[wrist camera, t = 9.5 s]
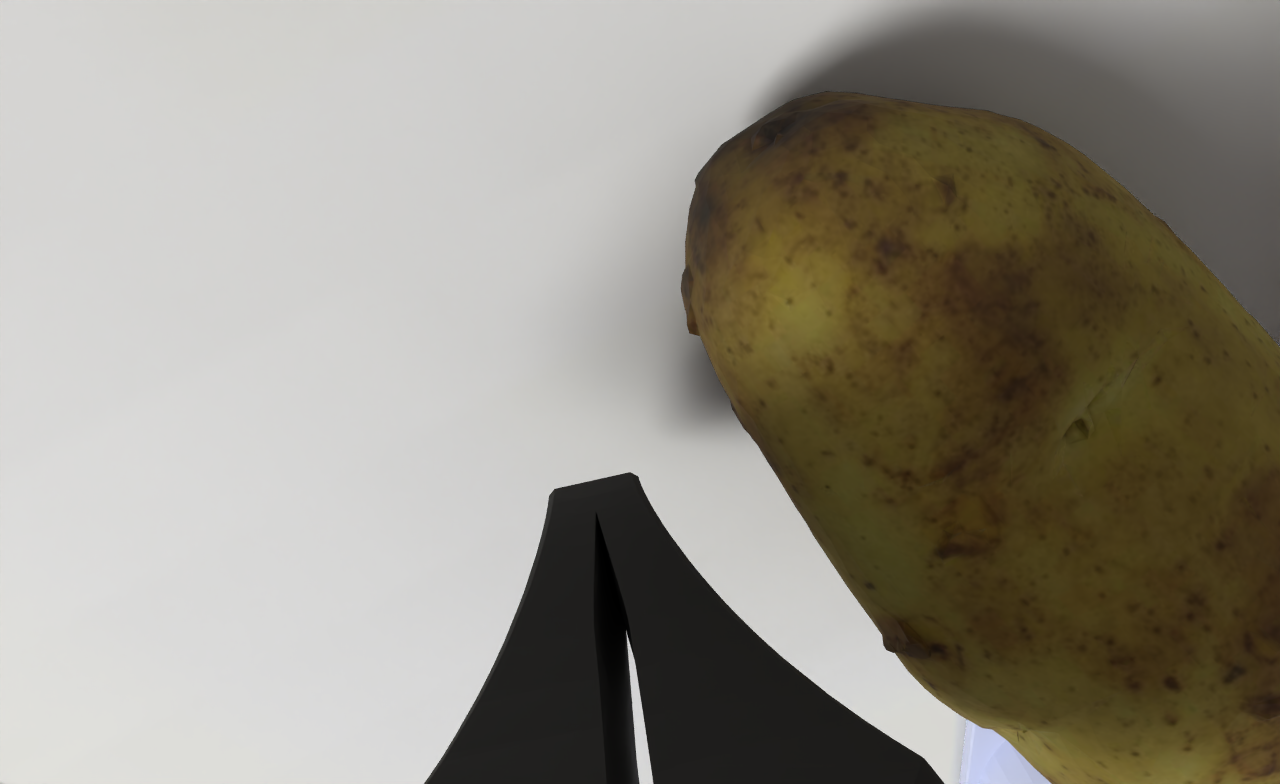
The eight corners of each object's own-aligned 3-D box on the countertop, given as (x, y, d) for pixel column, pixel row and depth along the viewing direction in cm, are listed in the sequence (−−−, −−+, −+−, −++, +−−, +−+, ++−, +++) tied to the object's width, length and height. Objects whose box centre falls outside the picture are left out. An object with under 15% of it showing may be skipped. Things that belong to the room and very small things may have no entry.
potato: (1113, -125, 12) (1953, -132, 5) (1176, 474, 18) (1560, 809, 12) (602, 149, 13) (721, 453, 6) (843, 619, 19) (1023, 1004, 13)
